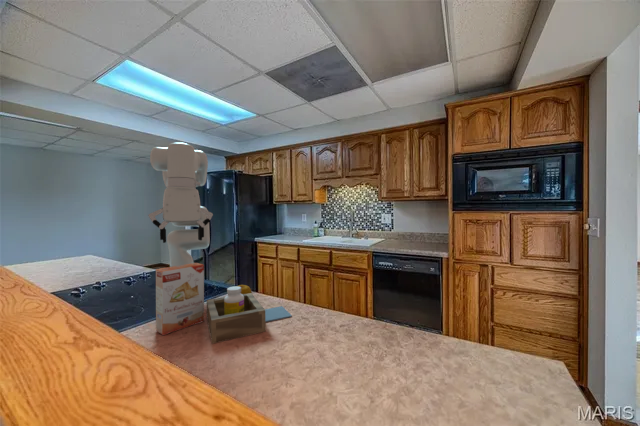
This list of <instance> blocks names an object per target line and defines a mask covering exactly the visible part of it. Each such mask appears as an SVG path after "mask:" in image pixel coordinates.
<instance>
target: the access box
mask: <svg viewBox="0 0 640 426" xmlns="http://www.w3.org/2000/svg"><path fill="white" fill-rule="evenodd" d="M242 295H243V296H244V312H239V313H234V314H228V315H224V298H225V297H226V296H225V297H224V296H223V297H216V298H210V299H206V321H207V326H208V330H209V335H210V341H211V344H216V343H220V342H225V341H228V340H233V339H238V338H242V337H247V336H251V335H255V334H259V333H263V332H266V327H267V326H266V323H267V322H266V320H265V309H266V308H264V307H263V305H262V304H261V303H260V301H259V300H258V299H257V298H256V297H255V295H254V294H253V292H252V293H248V294H242Z"/></svg>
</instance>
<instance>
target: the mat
mask: <svg viewBox="0 0 640 426" xmlns="http://www.w3.org/2000/svg"><path fill="white" fill-rule="evenodd" d="M264 309H265V320H266V323H270V322H274V321H280V320H283V319H288V318H292V317H293V315H292V314H291V313H290V312H289V311H288V310H287V309H286V308H285V307H284V306H283V305H281V306H275V307H270V308H264Z"/></svg>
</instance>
